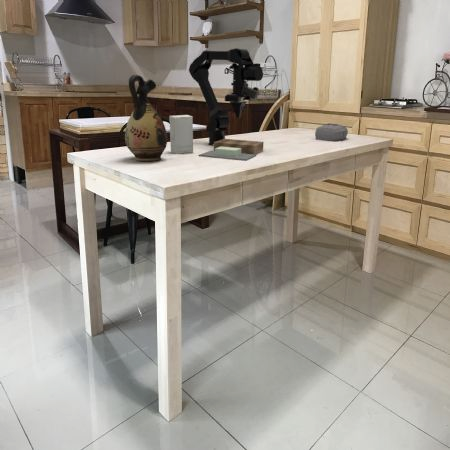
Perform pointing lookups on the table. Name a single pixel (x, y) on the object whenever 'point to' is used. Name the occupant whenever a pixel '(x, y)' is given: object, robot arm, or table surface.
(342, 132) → the soft grey pack
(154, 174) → the table surface
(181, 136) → the skincare box
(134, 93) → the ceramic jug
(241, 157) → the charcoal mat
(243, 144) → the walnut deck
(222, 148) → the sage tile
